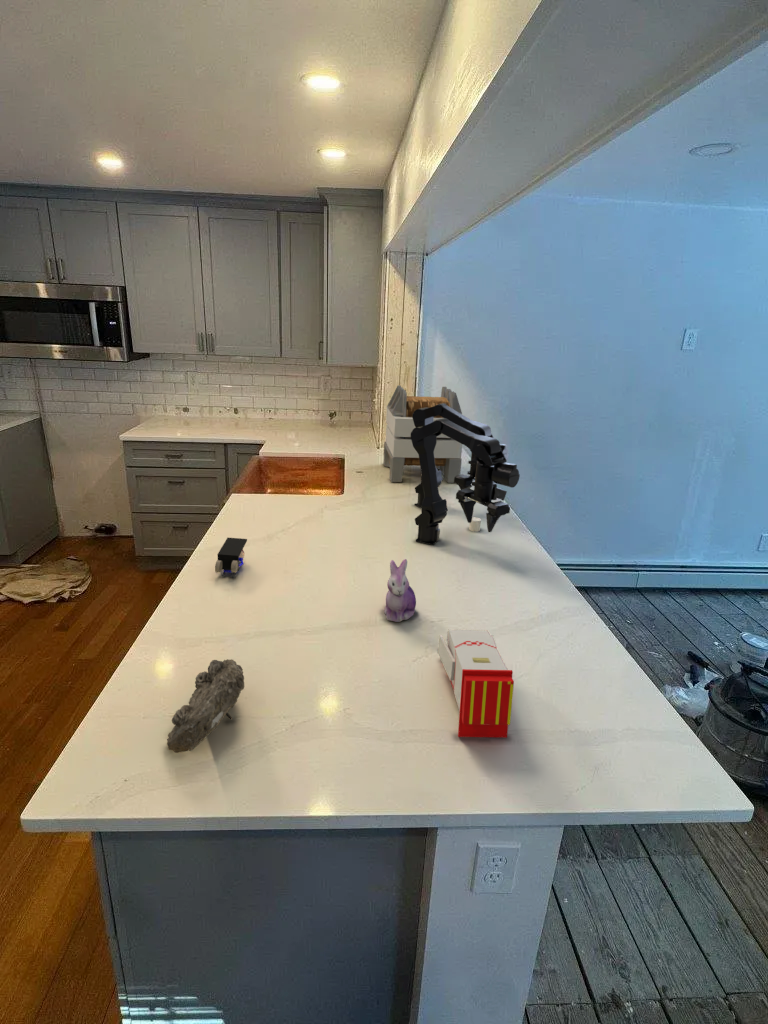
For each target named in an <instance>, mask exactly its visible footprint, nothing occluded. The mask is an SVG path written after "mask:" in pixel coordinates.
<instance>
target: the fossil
mask: <svg viewBox="0 0 768 1024" xmlns="http://www.w3.org/2000/svg"><path fill="white" fill-rule="evenodd" d="M243 670H244V669H243V667H242V665H240V664H237V662H236V661H235V660H234V659H232V658H231V659H227V658H226V659H224V660H223V661H222V660H217V659H212V660H211V661H210V663H209V665H208V666H207V671H201V672H199V673H198V674H197V675H196V676H195V680H194V684H195V685H194V687H195V689H194V690H193V693H192V694H191V697H190V698H189V700H188V704H184V705H182V706H181V707H180V709H177V710H176V711H175V713H174V715H173V716H172V718H171V723H172V724H173V727H172V730H171V731H170V732H168V734H167V738H166V741H167V742H166V745H167V749H168V750H169V751H173V752H174V753H176V754H178V753H182V752H188V751H189V752H192V751H193V750H195V748H196V747H197V746H199V744H200V743H201V742H203V741H204V740H205V739H206V738H207V737H208V736H209V735H210V734H211V733H212V732H214V730H215V729H217V727H218V726H219V724H220V722H221V721H222V720H223V719H224V718H225V716H226V717H227V719H229V720H233V717H232V715H230V714H229V710H230V709H231V708H234V706H235V704H236V703H237V702H238V699H239V697H240V695H241V693H242V691H243V690H245V689H244V688H245V675H244V671H243Z"/></svg>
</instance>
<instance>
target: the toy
mask: <svg viewBox="0 0 768 1024" xmlns="http://www.w3.org/2000/svg"><path fill="white" fill-rule="evenodd" d="M446 640H447V643H446V641H445V639H444V636H443V635H442V634H439V637H438V646H437V656H438V657H439V659H440V661H441V663H442V666H443V668H444V670H445V672H446V674H447V677H448V679H449V681H450V684H451V687H452V690H453V693H454V697H455V701H456V705H457V708H458V711H459V714H458V715H459V716H458V730H457V731H458V732H457V737H458V738H508V731H509V726H510V725H511V717H512V707H513V697H514V696H513V695H514V684H515V680H514V679H513V673H514V671H513V670H512V669H508V667H507V665H506V662H505V661H504V659H503V658H502V655H501V653H500V651H499V649H498V647H497V643H496V639H495V637H494V635H493V634H491V632H490V631H489V629H467V628H466V629H465V628H463V629H461V628H460V629H459V628H448V630H447V639H446Z"/></svg>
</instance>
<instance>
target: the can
mask: <svg viewBox="0 0 768 1024" xmlns="http://www.w3.org/2000/svg"><path fill="white" fill-rule="evenodd" d="M481 524H482V519H481V518H480V517H475V516H472V521H471V523H468V530H469V531H470V532H476V533H477V532H480V531H481Z"/></svg>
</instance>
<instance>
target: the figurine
mask: <svg viewBox="0 0 768 1024" xmlns="http://www.w3.org/2000/svg"><path fill="white" fill-rule="evenodd" d="M407 567H408V559H406V558H404V559H403V560H402V561H401V563H400V565H399V566H398V565H397V563H396V562H395V561H394V560H393V559H391V560H390V561H389V570H390V576H389V578H388V579H387V589H388V591H387V592H386V594H385V595H386V596H385V607H384V615H385V616H386V620H387V621H391V622H395V623H400V622H402V621H406V620H409V619H410V618H411V617H413V616H414V615H415V610H416V606H417V597H416V593H415V591H414V590H413V587H411V586H410V582H409V579H408V577H407V574H406V571H407Z"/></svg>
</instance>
